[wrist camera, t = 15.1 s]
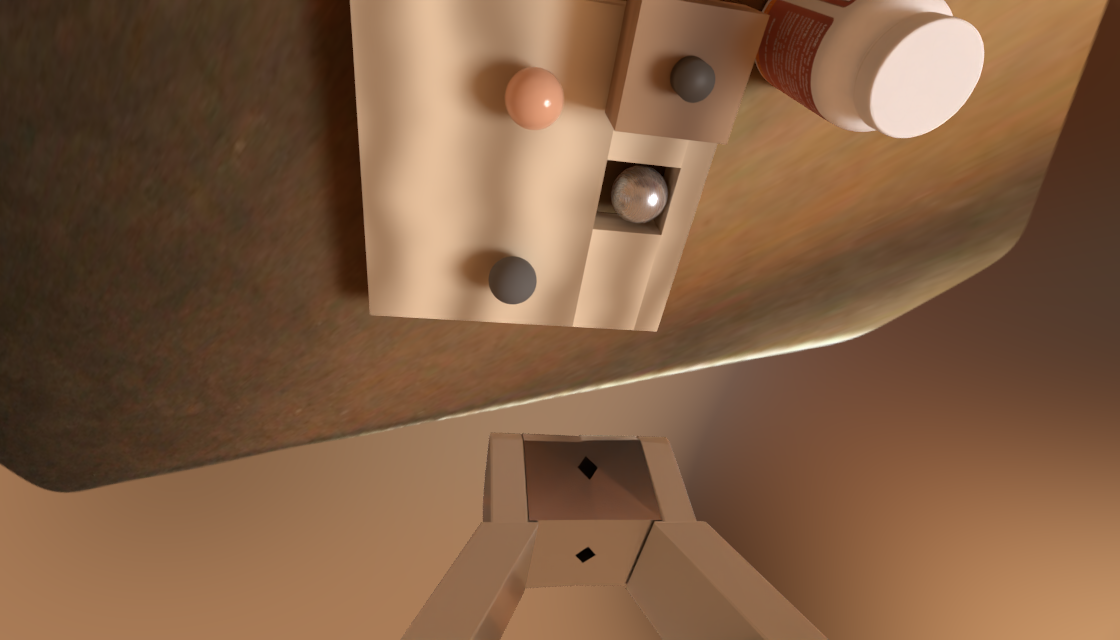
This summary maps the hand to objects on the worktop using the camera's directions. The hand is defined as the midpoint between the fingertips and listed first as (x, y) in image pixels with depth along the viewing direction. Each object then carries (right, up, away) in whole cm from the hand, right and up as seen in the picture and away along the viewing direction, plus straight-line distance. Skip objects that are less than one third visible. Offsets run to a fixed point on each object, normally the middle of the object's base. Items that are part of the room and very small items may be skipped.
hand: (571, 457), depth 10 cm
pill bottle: (+13, +19, +22) cm, 32 cm away
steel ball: (+5, +10, +25) cm, 27 cm away
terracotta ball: (-2, +14, +19) cm, 23 cm away
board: (-2, +12, +25) cm, 28 cm away
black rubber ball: (-3, +5, +25) cm, 26 cm away
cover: (+6, +16, +19) cm, 26 cm away
